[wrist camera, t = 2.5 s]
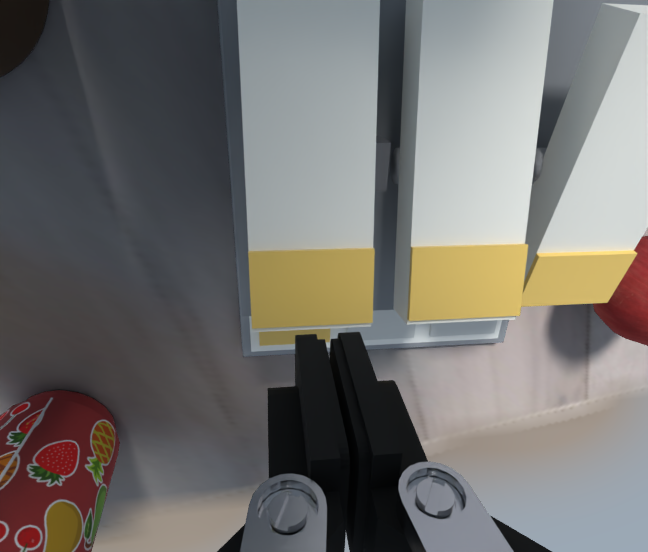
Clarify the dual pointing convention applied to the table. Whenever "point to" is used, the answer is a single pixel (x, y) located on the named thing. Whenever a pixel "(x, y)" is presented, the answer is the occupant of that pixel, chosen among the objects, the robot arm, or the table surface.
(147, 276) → the table surface
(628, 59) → the rocker
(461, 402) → the table surface
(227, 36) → the switch unit
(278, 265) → the rocker
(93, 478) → the smoothie
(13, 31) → the olive oil
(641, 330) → the onion
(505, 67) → the rocker
